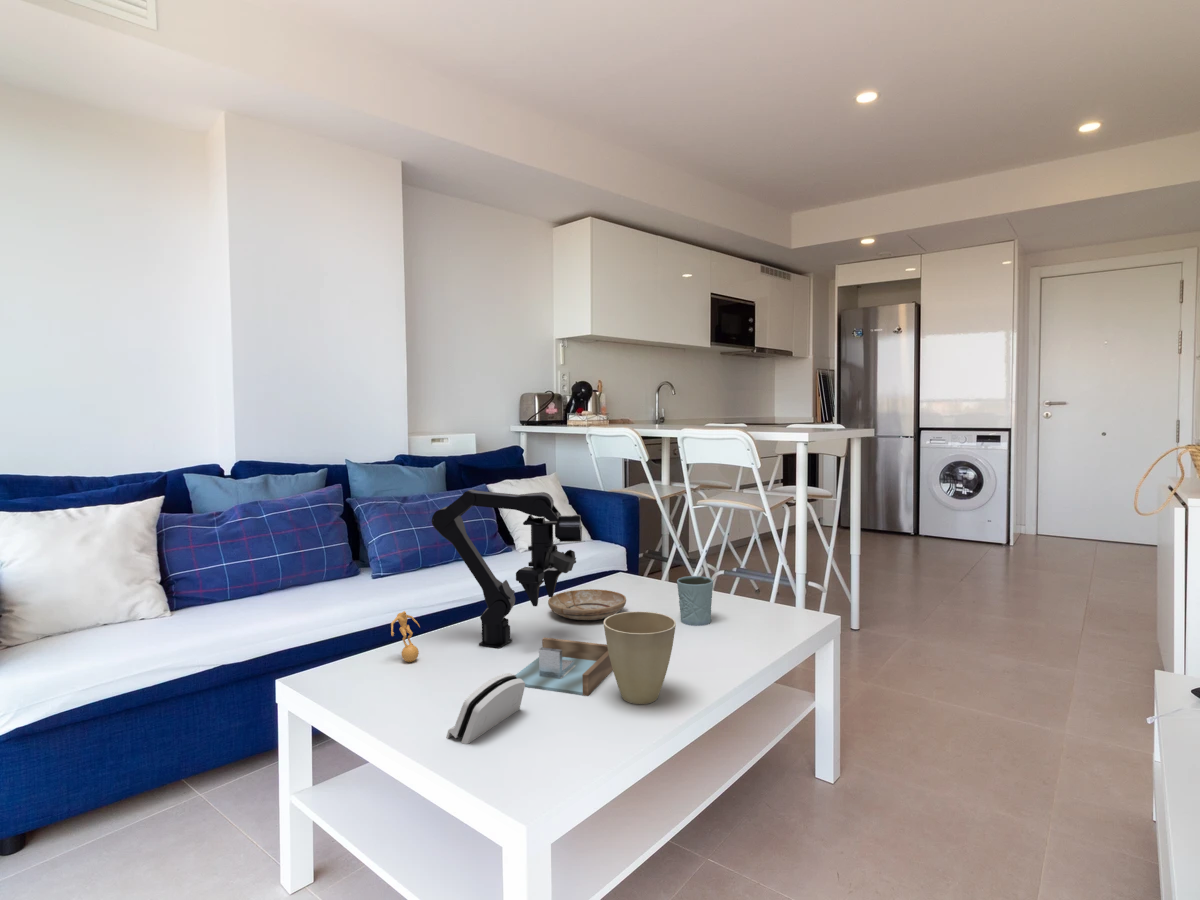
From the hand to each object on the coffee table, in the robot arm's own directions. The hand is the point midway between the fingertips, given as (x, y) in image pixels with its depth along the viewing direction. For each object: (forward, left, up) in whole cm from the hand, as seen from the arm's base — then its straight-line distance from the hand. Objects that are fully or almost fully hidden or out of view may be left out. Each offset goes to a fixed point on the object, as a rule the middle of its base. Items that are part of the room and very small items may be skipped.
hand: (543, 601), depth 171 cm
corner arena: (+13, -18, -11) cm, 25 cm away
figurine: (-26, -22, -11) cm, 36 cm away
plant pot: (+34, -24, -11) cm, 43 cm away
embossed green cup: (+33, +31, -11) cm, 47 cm away
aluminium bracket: (+12, -18, -10) cm, 24 cm away
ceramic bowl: (+1, +28, -11) cm, 30 cm away
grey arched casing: (+10, -45, -11) cm, 48 cm away
